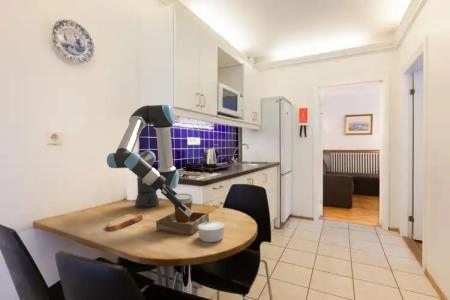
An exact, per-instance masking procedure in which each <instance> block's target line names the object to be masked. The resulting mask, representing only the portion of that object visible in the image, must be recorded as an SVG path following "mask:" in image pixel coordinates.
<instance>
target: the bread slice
mask: <svg viewBox="0 0 450 300" xmlns="http://www.w3.org/2000/svg"><path fill="white" fill-rule="evenodd" d="M143 217H144V216H143V215H142V214H138V215H135V214H131V213H130V214H129V213H126V214H124V215H122V216H118V217H116V218H114V219H113V220H111V221H110V222H108V223H107V225H106V227H105V230H106V231H107V232H116V231H119V230H122V229H125V228H127V227H130V226H132V225H134V224H136V223H138V222H140V221H141V220H142V219H143Z"/></svg>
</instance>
